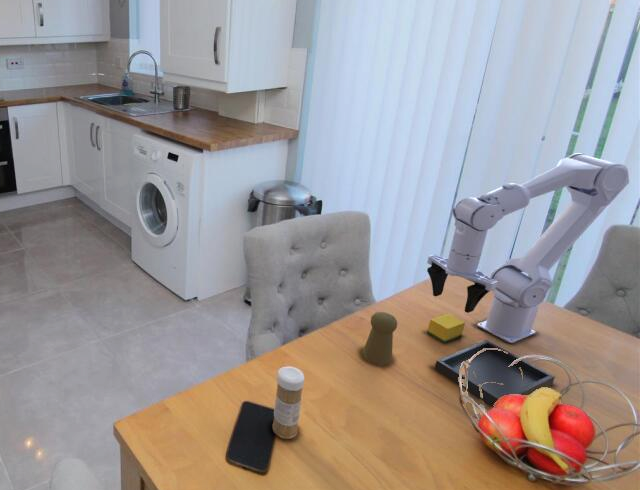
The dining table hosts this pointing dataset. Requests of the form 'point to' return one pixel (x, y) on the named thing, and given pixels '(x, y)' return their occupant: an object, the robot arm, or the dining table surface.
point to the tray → (494, 372)
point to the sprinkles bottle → (288, 402)
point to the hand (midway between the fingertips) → (452, 302)
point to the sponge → (445, 327)
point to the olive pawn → (380, 339)
